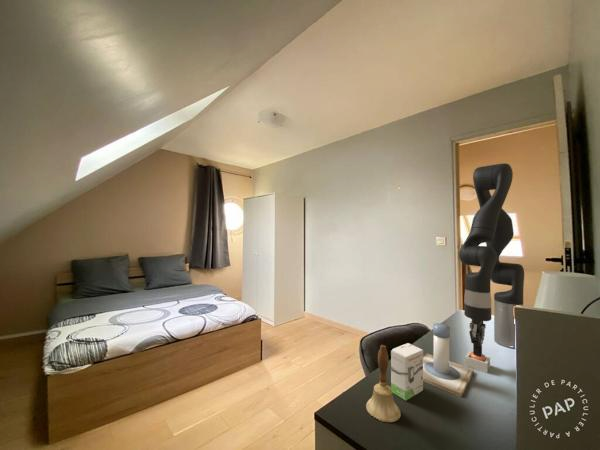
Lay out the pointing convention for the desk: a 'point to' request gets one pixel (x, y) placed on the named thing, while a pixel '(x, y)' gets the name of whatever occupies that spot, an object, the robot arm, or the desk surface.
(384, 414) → the hand bell
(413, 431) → the desk surface
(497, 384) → the desk surface
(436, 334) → the white bottle
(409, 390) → the ink box
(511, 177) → the robot arm
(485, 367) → the button housing
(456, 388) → the beige flat board
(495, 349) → the desk surface
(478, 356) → the button
